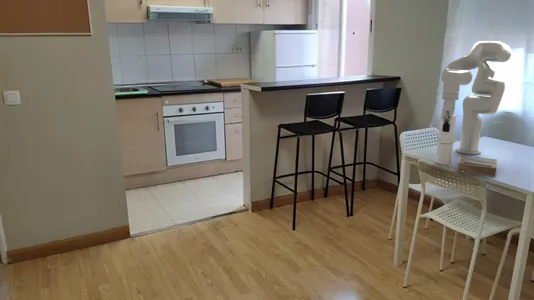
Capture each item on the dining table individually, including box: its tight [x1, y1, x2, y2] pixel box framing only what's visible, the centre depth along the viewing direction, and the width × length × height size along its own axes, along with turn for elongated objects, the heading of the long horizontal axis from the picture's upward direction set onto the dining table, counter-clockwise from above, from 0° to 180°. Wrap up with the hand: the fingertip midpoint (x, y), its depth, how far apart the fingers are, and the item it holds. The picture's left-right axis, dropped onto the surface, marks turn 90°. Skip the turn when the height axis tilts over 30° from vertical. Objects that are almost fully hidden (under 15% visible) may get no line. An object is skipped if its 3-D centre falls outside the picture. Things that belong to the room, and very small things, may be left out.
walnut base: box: [457, 155, 498, 177], centre depth 204 cm, size 16×16×4 cm
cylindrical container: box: [435, 113, 457, 165], centre depth 213 cm, size 7×7×25 cm
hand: (446, 129), depth 212 cm, fingers open, 9 cm apart
